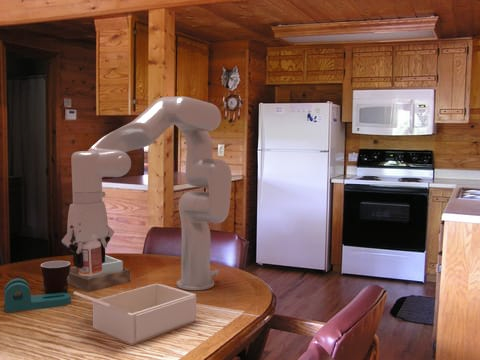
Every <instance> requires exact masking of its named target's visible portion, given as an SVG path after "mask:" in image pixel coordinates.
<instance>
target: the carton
mask: <svg viewBox="0 0 480 360" xmlns="http://www.w3.org/2000/svg"><path fill="white" fill-rule="evenodd" d="M96 299H97V300H100V301H103V302H105V303H108V304H111V305H113V306H115V307H118V308H120V309H122V310H124V311H127V312H128V314H124V313H121V312H119V311H116V310H113V309H111V308H108V307H105V306H103V305H100V304H97V303H94V302H92V329H93V330H95V332H98V333H101V334H103V335H104V336H108V337H110V338H113V339H115V340H116V341H119V342H122V343H125V344H127V345H129V346H134V345H137V344H139V343H143V342H144V341H148V340H150V339H152V338H153V339H154V338H156V337H158V336H161V335H163V334H166V333H169V332H172V331H174V330H177V329H180V328H182V327H185V326H189V324H193V323H195V322H196V316H197V294H196V293H194V292H189V291H187V290H186V291H185V290H184V289H181V288H175V287H173V286H168V285H165V284H162V283H154V284H153V283H151V284H149V285H144V286H141V287H137V288H134V289H129V290H126V291H123V292H119V293H115V294H112V295H108V296H104V297H101V298H96Z"/></svg>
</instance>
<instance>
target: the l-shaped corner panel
mask: <svg viewBox="0 0 480 360" xmlns="http://www.w3.org/2000/svg"><path fill="white" fill-rule="evenodd" d="M123 268H124V262H123V260H121V259H119V258H118V259H117V258H114V257H112V256H109V255H107V254H105V262H104V263H103V264H102V272H101V273H100V274H98V275H95V276H87V277H88V278H93V277H98V276H102V275H106V274H110V273H115V272H119V271H123Z"/></svg>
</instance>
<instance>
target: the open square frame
mask: <svg viewBox="0 0 480 360" xmlns="http://www.w3.org/2000/svg"><path fill="white" fill-rule="evenodd" d="M102 264H103V263H102ZM128 282H131V269H129V268H126V267H123V271H119V272H115V273H110V274H106V275H102V276H98V277H93V278H87V276H81V275H79V273H78V267H75V266H72V267H70V273H69V282H68V286H70V285H71V286H70V287H73V286H74V287H73V288H76V289H79V290H81V291H85V292H87V293H89V292H92V291H97V289H98V290H101V288H102V289H105V288H109V287H113V286H118V285H120V284H124V283H128Z"/></svg>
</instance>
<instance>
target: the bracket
mask: <svg viewBox="0 0 480 360" xmlns="http://www.w3.org/2000/svg"><path fill="white" fill-rule="evenodd" d="M30 288H31V287H30V285H29V283H28V282H27V281H26V280H25V279H23V278H13V279H11V280H9V281H8V282H7V283H6V284H5V286H4V290H3V293H4V313H5V314H8V313H16V312H24V311H33V310H41V309H42V310H43V309H49V308H50V309H51V308H58V307H65V306H68V305H70V304H72V303H71V302H72V294H70V293H68V292H67V293H52V294H45V293H43V294H35V295H32V293H31V289H30ZM16 293H17V294H16Z"/></svg>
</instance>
